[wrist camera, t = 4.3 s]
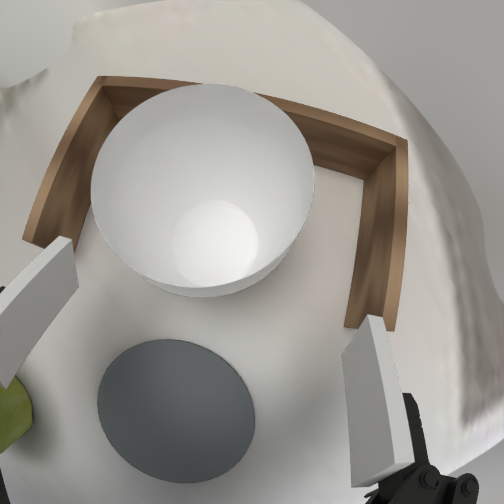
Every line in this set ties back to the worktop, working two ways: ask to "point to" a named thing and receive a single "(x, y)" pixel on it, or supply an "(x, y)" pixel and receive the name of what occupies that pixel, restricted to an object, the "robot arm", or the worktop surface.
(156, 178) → the cup
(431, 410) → the worktop surface
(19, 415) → the plant pot
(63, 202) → the u-shaped wooden rail
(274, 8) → the worktop surface
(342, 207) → the worktop surface
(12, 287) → the robot arm
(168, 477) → the disc
